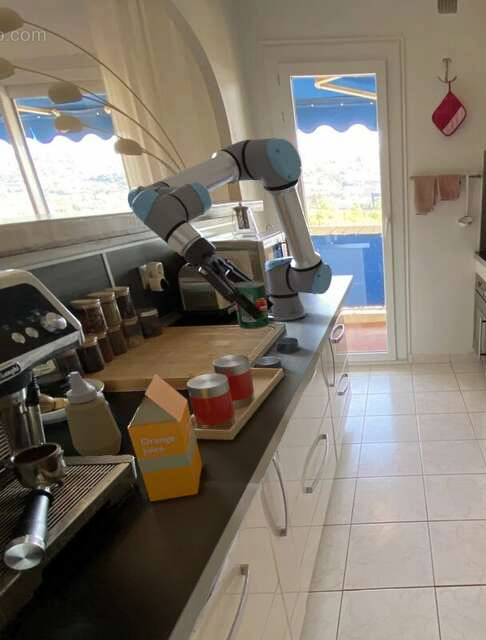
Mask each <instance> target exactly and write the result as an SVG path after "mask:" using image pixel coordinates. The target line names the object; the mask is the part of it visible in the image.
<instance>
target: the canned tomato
mask: <svg viewBox="0 0 486 640" xmlns="http://www.w3.org/2000/svg"><path fill="white" fill-rule="evenodd" d="M232 284H233V286H234V287H235V288H236V290H237V291H238V292H239V294H240V295H241V294H243V295H244V296H246V297H247V298H248V299H249V300H250V301H251V302H252V303H253V304H254V305H255V306H257V307H258V308H259V309H260V310H261V311H262V314H261V315H260V316H259V317H258V318H257V319H256V320H255V319H254V318H253V317H251V316H250V315H249V314H248V313H247V312H246V311H245V310H244V309H243V308H241V307H240V306H239V305H238V304H237V303H236V302H235V301H234V303H235V310H236V315H237V321H238V327H239V328H240V329H242V330H261V329H264V328H267V327H269V326H270V319H269V316H268V309H267V302H266V297H267V296H266V295H267V294H266V287H265V282H263V281H258V280H254V281H245V282H238V283H234V282H233V283H232ZM240 295H239V296H240Z"/></svg>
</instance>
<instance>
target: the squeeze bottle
mask: <svg viewBox="0 0 486 640" xmlns="http://www.w3.org/2000/svg"><path fill="white" fill-rule="evenodd" d="M70 386H71V389H69V390H68V391H67V392H66V393H65V396H66V399H67V401H68V402H67V403H66V404H65V406H64V411H65V415H66V420H67V424H68V428H69V432H70V437H71V441H72V445H73V447H74V449H75V450H76V451H77V453H78V454H80V455H81V457H83V456H103V455H115V456H116V455H118V453H120V450H121V443H122V442H121V441H122V432H121V430H120V428H119V426H118V424H117V422H116V419H115V417H114V415H113V414H112V411H110V410H111V408H110V409H109V407H110V406H109V407H108V405H107V403H106V401H107V400H106V399H105V396H104V397H101V396H98V395H97V392H98V391H97V390H96V389H97V388H96V387H95V386H93V385H87V383H86V382H85V381H84V379H83V377H82V376H81V374H80V373H79V371H72V372H70ZM105 400H106V401H105Z"/></svg>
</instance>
